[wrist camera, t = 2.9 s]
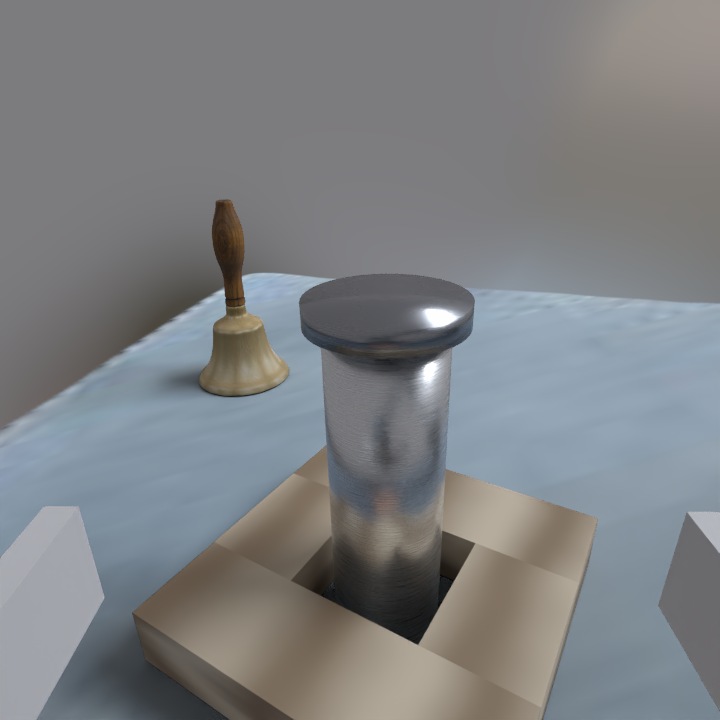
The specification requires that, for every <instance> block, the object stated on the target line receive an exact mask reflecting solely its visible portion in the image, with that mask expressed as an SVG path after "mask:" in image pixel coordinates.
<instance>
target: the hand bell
mask: <svg viewBox="0 0 720 720" xmlns="http://www.w3.org/2000/svg"><path fill="white" fill-rule="evenodd" d="M212 239H213V247H214V251H215V255H216V258H217V261H218V263H219V265H220V268H221V270H222V273H223V277H224V287H225V297H226V299H225V302H226V312H227V314H226V316H224V317H223V318H221V319H220V320H218V321H216V323H215V324H214V326H213V350H212V356H211V359H210V361H209V363H208V365H207V366H206V367H205V368H204V369H203V371H202V373H201V375H200V378H199V383H200V385H201V387H202V388H203V389H205V390H206V391H208V392H210V393H213V394H218V395H223V396H238V395H241V396H243V395H250V394H255V393H260V392H263V391H266V390H268V389H271V388H273V387H276V386H277V385H279V384H280V383H282V382H283V381H284V380H285V379H286V378H287V376H288V374H289V367H288V365H287V364H286V363H285V362H284V360H282V359H281V358H280V357H278V356H277V355H276V354H275V353H274V352H273V350H272V348H271V346H270V344H269V342H268V340H267V337H266V333H265V329H264V325H263V321H262V320H261V319H260V318H259V317H257V316H254V315H251V314H249V313H247V312H246V308H245V304H244V303H245V298H244V291H243V284H242V265H243V260H244V237H243V231H242V227H241V224H240V221H239V219H238V216H237V214H236V212H235V210H234V207H233V204H232V201H231V200H218V201H216V208H215V214H214V219H213V225H212Z"/></svg>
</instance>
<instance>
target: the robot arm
mask: <svg viewBox="0 0 720 720" xmlns="http://www.w3.org/2000/svg"><path fill="white" fill-rule="evenodd" d="M104 598H105V597H104V594H103V590H102V587H101V583H100V580H99V576H98V573H97V569H96V566H95V562H94V559H93V555H92V552H91V548H90V545H89V541H88V538H87V535H86V531H85V528H84V524H83V521H82V517H81V514H80V510H79V507H60V506H44V507H43V508H42V510H41V511H40V512H39V513H38V514H37V515H36V517H35V518H34V519H33V520H32V521H31V523H30V524H29V525H28V526H27V527H26V528H25V530H24V531H23V532H22V533H21V534H20V535H19V537H18V538H17V539H16V540H15V541H14V543H13V544H12V545H11V546H10V547H9V548H8V550H7V551H6V552H5V553H4V554H3V556H2V557H1V558H0V720H37V718H38V716H39V714H40V712H41V711H42V709H43V707H44V705H45V704H46V702H47V700H48V698H49V696H50V695H51V693H52V691H53V689H54V687H55V686H56V684H57V682H58V680H59V679H60V677H61V675H62V673H63V671H64V670H65V668H66V666H67V664H68V662H69V661H70V659H71V657H72V655H73V654H74V652H75V650H76V648H77V646H78V645H79V643H80V641H81V639H82V638H83V636H84V634H85V632H86V630H87V629H88V627H89V625H90V623H91V621H92V620H93V618H94V616H95V614H96V613H97V611H98V609H99V607H100V605H101V604H102V602H103V600H104ZM658 606H659V607H660V609H661V611H662V613H663V614H664V616H665V618H666V619H667V621H668V623H669V625H670V626H671V628H672V630H673V632H674V633H675V635H676V637H677V638H678V640H679V642H680V644H681V645H682V647H683V649H684V651H685V652H686V654H687V656H688V657H689V659H690V661H691V663H692V664H693V666H694V668H695V670H696V671H697V673H698V675H699V676H700V678H701V680H702V682H703V683H704V685H705V687H706V689H707V690H708V692H709V694H710V695H711V697H712V699H713V701H714V702H715V704H716V706H717V707H718V709H719V711H720V512H687V513H686V516H685V520H684V523H683V526H682V529H681V533H680V536H679V539H678V543H677V546H676V549H675V552H674V556H673V559H672V562H671V565H670V569H669V572H668V575H667V578H666V582H665V585H664V588H663V592H662V595H661V598H660V601H659V605H658Z"/></svg>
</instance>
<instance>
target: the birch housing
mask: <svg viewBox="0 0 720 720" xmlns="http://www.w3.org/2000/svg"><path fill="white" fill-rule="evenodd" d="M597 521H598V518H595V517H592V516H589V515H586V514H583V513H580V512H577V511H574V510H570V509H567V508H564V507H561V506H558V505H555V504H552V503H549V502H546V501H543V500H539V499H536V498H533V497H530V496H527V495H524V494H521V493H518V492H515V491H512V490H509V489H505V488H502V487H499V486H496V485H493V484H490V483H487V482H484V481H481V480H478V479H474V478H471V477H468V476H465V475H462V474H459V473H456V472H453V471H450V470H447V469H445V487H444V505H443V523H442V541H441V559H440V575H442V576H445V577H447V578H449V579H452V580H454V582H453V584H452V586H451V588H450V590H449V591H448V593H447V595H446V597H445V598H444V600H443V602H442V604H441V606H440V607H439V609H438V611H437V613H436V615H435V616H434V618H433V620H432V622H431V623H430V625H429V627H428V629H427V631H426V632H425V634H424V636H423V638H422V639H421V641H420V643H419V645H417V644H415V643H413V642H411V641H409V640H407V639H405V638H403V637H401V636H399V635H397V634H395V633H393V632H391V631H389V630H387V629H385V628H383V627H381V626H379V625H377V624H375V623H373V622H371V621H369V620H367V619H365V618H363V617H361V616H360V615H358V614H356V613H354V612H352V611H350V610H348V609H346V608H344V607H342V606H340V605H338V604H336V603H334V602H332V601H330V600H328V599H326V598H324V597H322V596H321V595H322V594H323V592H324V591H325V590H326V589H327V587H328V586H329V585H330V584H331V583H332V581H333V580H334V566H333V549H332V531H331V513H330V496H329V478H328V461H327V445H326V446H325V447H324V448H323V449H321V450H320V451H319V452H318V453H317V454H316V455H314V456H313V457H312V458H311V459H310V460H309V461H307V462H306V463H305V464H304V465H303V466H302V467H301V468H299V469H298V470H297V471H296V472H295V473H294V474H292V475H291V476H290V477H289V478H288V479H287V480H285V481H284V482H283V483H282V484H281V485H280V486H278V487H277V488H276V489H275V490H274V491H273V492H272V493H270V494H269V495H268V496H267V497H266V498H265V499H263V500H262V501H261V502H260V503H259V504H258V505H256V506H255V507H254V508H253V509H252V510H251V511H250V512H248V513H247V514H246V515H245V516H244V517H243V518H241V519H240V520H239V521H238V522H237V523H236V524H234V525H233V526H232V527H231V528H230V529H229V530H227V531H226V532H225V533H224V534H223V535H222V536H221V537H219V538H218V539H217V540H216V541H215V542H214V543H212V544H211V545H210V546H209V547H208V548H207V549H205V550H204V551H203V552H202V553H201V554H200V555H198V556H197V557H196V558H195V559H194V560H193V561H192V562H190V563H189V564H188V565H187V566H186V567H185V568H183V569H182V570H181V571H180V572H179V573H178V574H176V575H175V576H174V577H173V578H172V579H171V580H169V581H168V582H167V583H166V584H165V585H164V586H163V587H161V588H160V589H159V590H158V591H157V592H156V593H154V594H153V595H152V596H151V597H150V598H149V599H147V600H146V601H145V602H144V603H143V604H142V605H141V606H139V607H138V608H137V609H136V610H135V611H134V612H132V614H133V617H134V621H135V624H136V628H137V631H138V635H139V638H140V642H141V645H142V649H143V652H144V656H145V660H147V661H148V662H149V663H151V664H152V665H154V666H155V667H156V668H158V669H159V670H161V671H162V672H163V673H165V674H166V675H168V676H169V677H170V678H172V679H173V680H175V681H176V682H177V683H179V684H180V685H182V686H183V687H184V688H186V689H187V690H189V691H190V692H191V693H193V694H194V695H196V696H197V697H198V698H200V699H201V700H203V701H204V702H205V703H207V704H208V705H210V706H211V707H213V708H214V709H215V710H217V711H218V712H220V713H221V714H222V715H224V716H225V717H227V718H228V719H229V720H543V717H544V714H545V711H546V707H547V704H548V700H549V697H550V694H551V690H552V687H553V683H554V680H555V676H556V673H557V670H558V666H559V663H560V659H561V656H562V652H563V649H564V646H565V642H566V639H567V635H568V632H569V628H570V625H571V622H572V618H573V615H574V611H575V608H576V605H577V601H578V598H579V594H580V591H581V587H582V584H583V581H584V577H585V574H586V570H587V567H588V563H589V559H590V554H591V550H592V545H593V540H594V535H595V531H596V526H597Z"/></svg>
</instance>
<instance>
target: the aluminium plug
mask: <svg viewBox="0 0 720 720" xmlns="http://www.w3.org/2000/svg"><path fill="white" fill-rule="evenodd" d="M474 302H475V300H474V297H473V295H472V294H471V293H470V292H469V291H468V290H466V289H465V288H463V287H461V286H459V285H457V284H454V283H451V282H448V281H445V280H441V279H436V278H431V277H424V276H417V275H406V274H371V275H360V276H352V277H346V278H340V279H336V280H332V281H328V282H325V283H322V284H319V285H317V286H315V287H313V288H311V289H309V290H308V291H306V292H305V293H304V294H303V295H302V296H301V298H300V301H299V306H300V320H301V330H302V333H303V335H304V336H305V337H306V338H307V339H308V340H309V341H310V342H312V343H313V344H315V345H317V346H319V347H321V355H322V372H323V390H324V408H325V425H326V443H327V461H328V478H329V496H330V513H331V531H332V549H333V566H334V584H335V602H336V604H338V605H340V606H342V607H344V608H346V609H348V610H350V611H352V612H354V613H356V614H358V615H360V616H361V617H363V618H365V619H367V620H369V621H371V622H373V623H375V624H377V625H379V626H381V627H383V628H385V629H387V630H389V631H391V632H393V633H395V634H397V635H399V636H401V637H403V638H405V639H407V640H409V641H411V642H413V643H415V644H417V645H418V644H419V643H420V641H421V639H422V638H423V636H424V634H425V632H426V631H427V629H428V627H429V625H430V623H431V622H432V620H433V618H434V616H435V615H436V613H437V611H438V595H439V577H440V559H441V541H442V523H443V505H444V487H445V469H446V451H447V433H448V415H449V397H450V379H451V361H452V347H454V346H456V345H458V344H460V343H462V342H463V341H464V340H466V339H467V338H468V337H469V336H470V334H471V332H472V329H473V316H474Z"/></svg>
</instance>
